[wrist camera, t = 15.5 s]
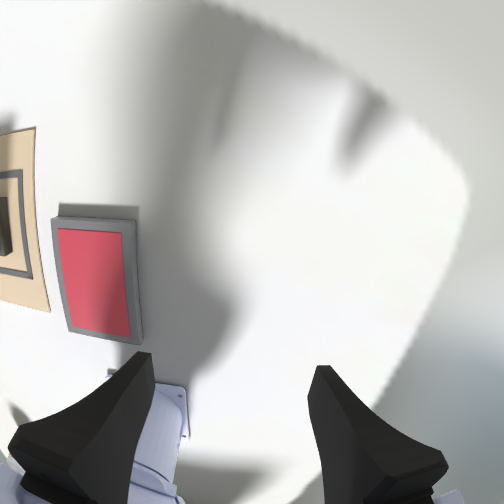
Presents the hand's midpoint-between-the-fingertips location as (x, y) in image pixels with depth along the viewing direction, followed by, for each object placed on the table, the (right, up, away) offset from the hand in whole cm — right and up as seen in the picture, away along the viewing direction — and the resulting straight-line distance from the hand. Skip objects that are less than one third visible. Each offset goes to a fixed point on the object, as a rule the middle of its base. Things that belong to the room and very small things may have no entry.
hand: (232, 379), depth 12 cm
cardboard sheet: (-23, +8, +7) cm, 25 cm away
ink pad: (-11, +3, +9) cm, 15 cm away
